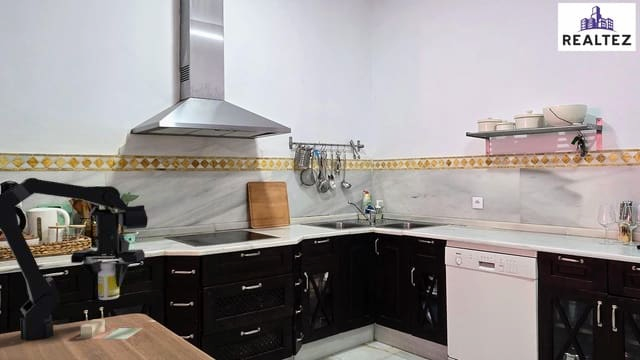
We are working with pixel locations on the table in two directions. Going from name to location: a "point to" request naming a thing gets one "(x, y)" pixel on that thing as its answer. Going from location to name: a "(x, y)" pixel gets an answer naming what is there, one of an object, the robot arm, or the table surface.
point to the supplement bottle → (107, 282)
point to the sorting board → (115, 333)
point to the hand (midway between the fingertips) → (109, 286)
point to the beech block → (92, 328)
